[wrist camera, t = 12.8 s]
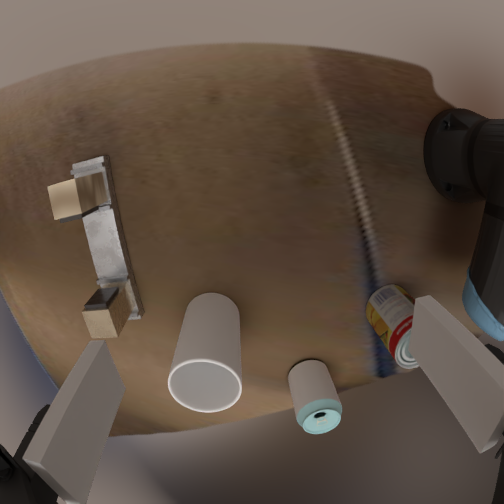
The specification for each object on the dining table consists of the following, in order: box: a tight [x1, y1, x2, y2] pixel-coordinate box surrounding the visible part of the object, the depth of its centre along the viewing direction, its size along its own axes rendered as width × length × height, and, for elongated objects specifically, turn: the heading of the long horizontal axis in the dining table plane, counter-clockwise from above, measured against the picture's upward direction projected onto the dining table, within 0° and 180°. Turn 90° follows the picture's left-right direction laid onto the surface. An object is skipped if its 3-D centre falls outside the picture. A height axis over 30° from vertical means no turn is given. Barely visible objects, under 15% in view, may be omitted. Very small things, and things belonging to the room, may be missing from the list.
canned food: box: [365, 284, 419, 369], centre depth 43 cm, size 8×8×12 cm
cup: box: [168, 293, 242, 412], centre depth 40 cm, size 8×8×16 cm
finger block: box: [48, 172, 108, 223], centre depth 35 cm, size 5×4×8 cm
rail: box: [71, 156, 144, 338], centre depth 38 cm, size 5×24×10 cm, turn 7°
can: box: [288, 360, 342, 434], centre depth 46 cm, size 7×7×12 cm
